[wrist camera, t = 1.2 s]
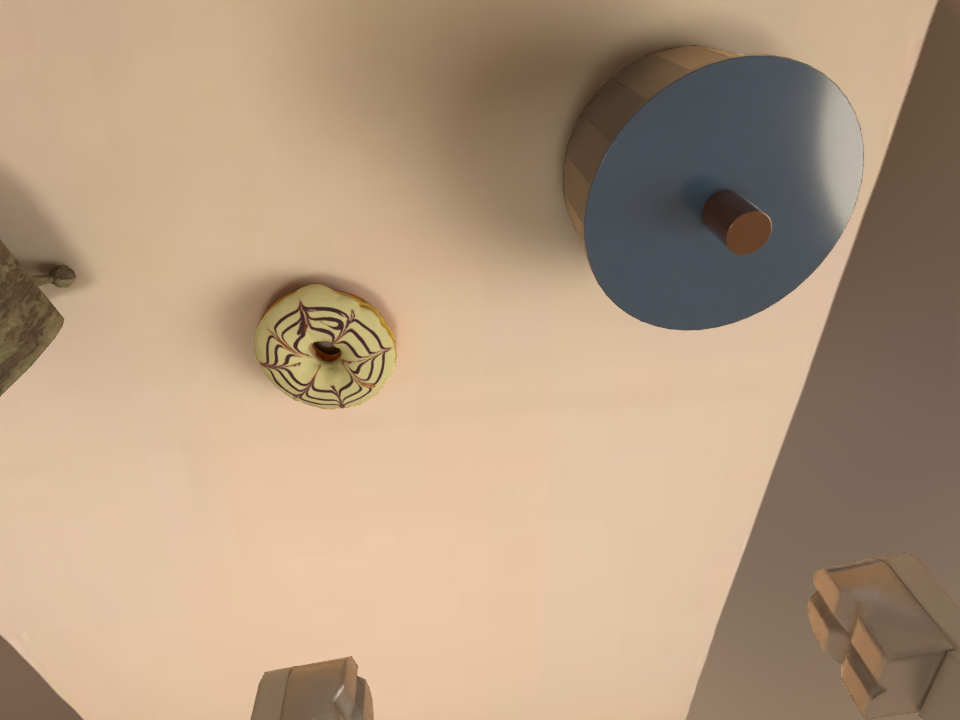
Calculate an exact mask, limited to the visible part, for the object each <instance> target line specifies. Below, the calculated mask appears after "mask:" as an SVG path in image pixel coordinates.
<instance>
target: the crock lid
mask: <svg viewBox="0 0 960 720" xmlns="http://www.w3.org/2000/svg"><path fill="white" fill-rule="evenodd" d="M863 166H864V146H863V140H862V134H861V128H860V126H859V123H858V120H857V117H856V114H855V111H854V110H853V108H852V106H851V104H850V102H849V101H848V99H847V97H846V96H845V95H844V93H843V92H842V91H841V90H840V88H839V87H838V86H837V85H836V84H835V83H834V82H833V81H832V80H830V79H829V78H828V77H827V76H826V75H824V74H823V73H822V72H820V71H818V70H816V69H815V68H813V67H811V66H809V65H807V64H805V63H802V62H799V61H796V60H793V59H790V58H787V57H781V56H775V55H769V54H744V55H737V56H730V57H725V58H721V59H718V60H714V61H711V62H707V63H704V64H702V65H700V66H697V67H695V68H693V69H690V70H688V71H686V72H684V73H682V74H681V75H679V76H677V77H675V78H674V79H672V80H670V81H669V82H667V83H665V84H664V85H663V86H661V87H660V88H659V89H657V90H656V91H655V92H653V93H652V94H651V95H649V96H648V97H647V98H646V99H645V100H644V101H643V102H642V103H641V104H639V105H638V106H637V107H636V108H635V109H634V110H633V111H632V112H631V113H630V114H629V116H628V117H627V118H626V119H625V120H624V121H623V123H622V124H621V125H620V126H619V127H618V129H617V130H616V131H615V133H614V134H613V136H612V137H611V139H610V140H609V142H608V143H607V145H606V146H605V148H604V150H603V152H602V154H601V156H600V158H599V160H598V162H597V164H596V166H595V168H594V171H593V174H592V176H591V179H590V182H589V185H588V189H587V193H586V197H585V201H584V209H583V218H582V229H583V242H584V248H585V253H586V256H587V260H588V263H589V266H590V268H591V270H592V272H593V274H594V276H595V278H596V280H597V282H598V284H599V285H600V287H601V288H602V290H603V291H604V292H605V294H606V295H607V296H608V297H609V298H610V299H611V300H612V301H613V302H614V303H615V304H616V305H617V306H618V307H619V308H620V309H622V310H623V311H625V312H626V313H627V314H629V315H631V316H632V317H634V318H636V319H638V320H640V321H642V322H645V323H648V324H651V325H654V326H657V327H662V328H667V329H674V330H702V329H709V328H716V327H720V326H724V325H728V324H731V323H734V322H737V321H740V320H743V319H745V318H748V317H750V316H752V315H754V314H756V313H759V312H761V311H763V310H765V309H766V308H768V307H770V306H771V305H773V304H775V303H776V302H778V301H780V300H781V299H782V298H784V297H785V296H786V295H788V294H789V293H790V292H792V291H793V290H794V289H796V288H797V287H798V286H799V285H800V284H801V283H802V282H804V281H805V280H806V279H807V278H808V277H809V276H810V275H811V274H812V273H813V272H814V271H815V270H816V269H817V267H818V266H819V265H820V264H821V263H822V262H823V260H824V259H825V258H826V257H827V255H828V254H829V253H830V252H831V250H832V249H833V247H834V246H835V244H836V243H837V241H838V239H839V238H840V236H841V235H842V233H843V231H844V229H845V227H846V225H847V223H848V221H849V219H850V217H851V215H852V212H853V209H854V207H855V204H856V201H857V198H858V194H859V190H860V186H861V182H862V175H863Z"/></svg>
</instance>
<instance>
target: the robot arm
mask: <svg viewBox="0 0 960 720" xmlns="http://www.w3.org/2000/svg"><path fill="white" fill-rule="evenodd" d="M813 583H814V585H815V586H816V588H817V591H816V592H815V593H814V594H813V595H812V596H811V597H810V598H809V604H808V614H809V619H810V623H811V626H812V629H813V631H814V633H815V636H816V638H817V640H818V642H819V644H820V645H821V647H822V649H823V650H824V652H825V653H826V654H827V655H829V656H830V657H832V658H833V659H835V660H836V661H838V662H839V663H841V664H842V670H841V681H842V683H843V684H844V686H845V687H846V689H847V691H848V692H849V694H850V696H851V697H852V699H853V701H854V702H855V704H856V706H857V707H858V709H859V711H860V712H861V714H862V716H863V717H864V719H865V720H869V719H876V718H882V717H889V716H896V715H903V714H909V713H915V712H919V715H918V716H920V717H921V718H923V719H924V720H960V606H959V605H958V604H957V603H956V602H955V600H954V599H953V598H952V597H951V596H950V595H949V593H948V592H947V591H946V590H945V589H944V588H943V587H942V585H941V584H940V583H939V582H938V581H937V580H936V579H935V577H934V576H933V575H932V574H931V573H930V571H929V570H928V569H927V568H926V567H925V566H924V565H923V564H922V562H921V561H920V560H919V559H918V558H917V557H915V556H913V555H912V554H908V553H901V554H896V555H891V556H886V557H880V558H873V559H868V560H863V561H858V562H854V563H848V564H844V565H839V566H834V567H829V568H824V569H820V570H818V571H817V572H816V573H815V575H814V580H813ZM357 670H358V665H357V664H356V662H355V661H354V659H353V657H352V656H350V657H345V658H339V659H334V660H329V661H323V662H318V663H312V664H307V665H302V666H293V667H288V668H283V669H278V670H273V671H268V672H265V673H264V675H263V677H262V679H261V681H260V683H259V685H258V690H257V694H256V699H255V703H254V707H253V712H252V716H251V720H374V715H373V703H372V696H371V692H370V689H369V686H368V684H367V682H366V680H365V679H363V678H361V677H358V676H357Z"/></svg>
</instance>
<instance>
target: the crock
mask: <svg viewBox="0 0 960 720" xmlns="http://www.w3.org/2000/svg"><path fill="white" fill-rule="evenodd" d="M737 55H739V54H736V53H733V52H729V51H723V50H718V49H714V48H708V47H702V46H697V45H691V46H683V47H676V48H669V49H666V50H662V51H659V52H656V53H653V54H650V55H648V56H646V57H644V58H641V59H639V60H637V61H636V62H634V63H632V64H631V65H629V66H627V67H626V68H624V69H623V70H622V71H620V72H619V73H618V74H616V75H615V76H614V77H613V78H611V79H610V80H609V81H608V82H607V83H606V84H605V85H604V86H603V87H602V88H601V89H600V90H599V91H598V92H597V94H596V95H595V96H594V97H593V99H592V100H591V101H590V102H589V104H588V105H587V107H586V108H585V110H584V111H583V113H582V115H581V116H580V118H579V120H578V122H577V124H576V126H575V128H574V130H573V133H572V135H571V138H570V141H569V144H568V147H567V152H566V156H565V161H564V172H563V184H564V195H565V200H566V204H567V207H568V210H569V213H570V216H571V219H572V222H573V225H574V227H575V229H576V230H577V232H578V234H579V235H580V237H581V239H582V241H583V229H582V218H583V209H584V201H585V197H586V193H587V189H588V185H589V182H590V179H591V176H592V174H593V171H594V168H595V166H596V164H597V162H598V160H599V158H600V156H601V154H602V152H603V150H604V148H605V146H606V145H607V143H608V142H609V140H610V139H611V137H612V136H613V134H614V133H615V131H616V130H617V129H618V127H619V126H620V125H621V124H622V123H623V121H624V120H625V119H626V118H627V117H628V116H629V114H630V113H631V112H632V111H633V110H634V109H635V108H636V107H637V106H638V105H639V104H641V103H642V102H643V101H644V100H645V99H646V98H647V97H648V96H649V95H651V94H652V93H653V92H655V91H656V90H657V89H659V88H660V87H661V86H663V85H664V84H665V83H667V82H669V81H670V80H672V79H674V78H675V77H677V76H679V75H681V74H682V73H684V72H686V71H688V70H690V69H693V68H695V67H697V66H700V65H702V64H704V63H707V62H711V61H714V60H718V59H721V58H725V57H730V56H737Z"/></svg>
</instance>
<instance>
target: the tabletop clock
mask: <svg viewBox="0 0 960 720" xmlns="http://www.w3.org/2000/svg"><path fill="white" fill-rule="evenodd" d="M75 279H76V275H75V273H74V271H73V270H72V269H70V268H69V267H67V266H55V267H54V268H52V269H51V270H50V271H49V275H42V276H29V275H28V273H27V272H26V271H25V270H24V268H23V267H22V266H21V265H20V264H19V262H18V261H17V260H16V259H15V257H14V256H13V255H12V254H11V252H10V251H9V250H8V249H7V247H6V246H5V245H4V244H3V242H2V241H1V240H0V396H1V395H2V394H3V393H4V392H5V391H6V390H7V389H8V388H9V387H10V386H11V385H12V384H13V383H14V382H15V381H16V380H17V379H18V378H19V377H20V376H21V375H22V374H23V373H24V372H26V371H27V370H28V369H29V368H30V367H31V366H32V364H33V363H34V362H35V361H36V360H37V359H38V357H39V356H40V355H41V354H42V353H43V351H44V350H45V349H46V348H47V347H48V346H49V344H50V343H51V342H52V341H53V340H54V338H55V337H56V335H57V334H58V333H59V331H60V329H61V328H62V326H63V322H64V318H63V317H62V316H61V314H60V313H59V312H58V311H57V309H56V308H55V307H54V306H53V304H52V303H51V302H50V301H49V299H48V298H47V297H46V296H45V294H44V293H43V292H42V291H41V290H40V288H39V287H38V286H40V285H44V284H47V283H52V284H54V285H55V286H57V287H64V288H67V287H70V286H71V285H72V284H73V283H74V282H75Z"/></svg>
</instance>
